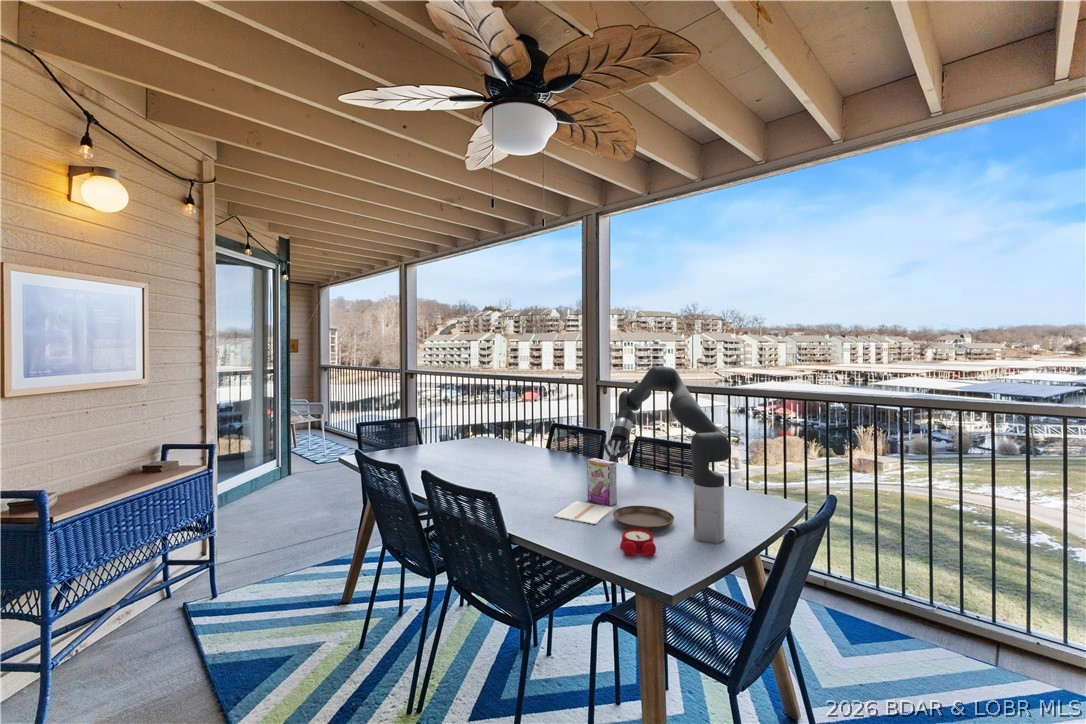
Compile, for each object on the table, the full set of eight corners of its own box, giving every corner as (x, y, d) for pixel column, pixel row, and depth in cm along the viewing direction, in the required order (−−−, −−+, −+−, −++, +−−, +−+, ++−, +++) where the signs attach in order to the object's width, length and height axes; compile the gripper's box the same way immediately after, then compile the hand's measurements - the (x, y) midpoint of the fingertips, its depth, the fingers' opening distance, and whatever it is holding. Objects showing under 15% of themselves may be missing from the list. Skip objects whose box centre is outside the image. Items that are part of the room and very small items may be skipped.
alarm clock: (652, 528, 148) (658, 536, 133) (652, 549, 147) (659, 559, 132) (618, 527, 149) (621, 535, 134) (619, 548, 148) (622, 558, 133)
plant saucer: (648, 510, 175) (648, 501, 175) (687, 529, 156) (687, 519, 156) (601, 519, 166) (601, 510, 166) (637, 540, 148) (637, 530, 147)
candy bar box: (586, 500, 186) (586, 459, 186) (595, 497, 190) (594, 457, 189) (609, 507, 178) (608, 464, 178) (617, 504, 182) (616, 462, 181)
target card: (595, 525, 160) (595, 523, 160) (554, 517, 168) (554, 515, 168) (614, 508, 176) (614, 507, 176) (575, 502, 184) (575, 500, 184)
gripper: (605, 424, 204) (594, 458, 193) (634, 426, 197) (624, 461, 187) (609, 434, 208) (599, 468, 198) (638, 436, 202) (629, 471, 191)
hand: (611, 464), depth 192 cm, fingers closed
